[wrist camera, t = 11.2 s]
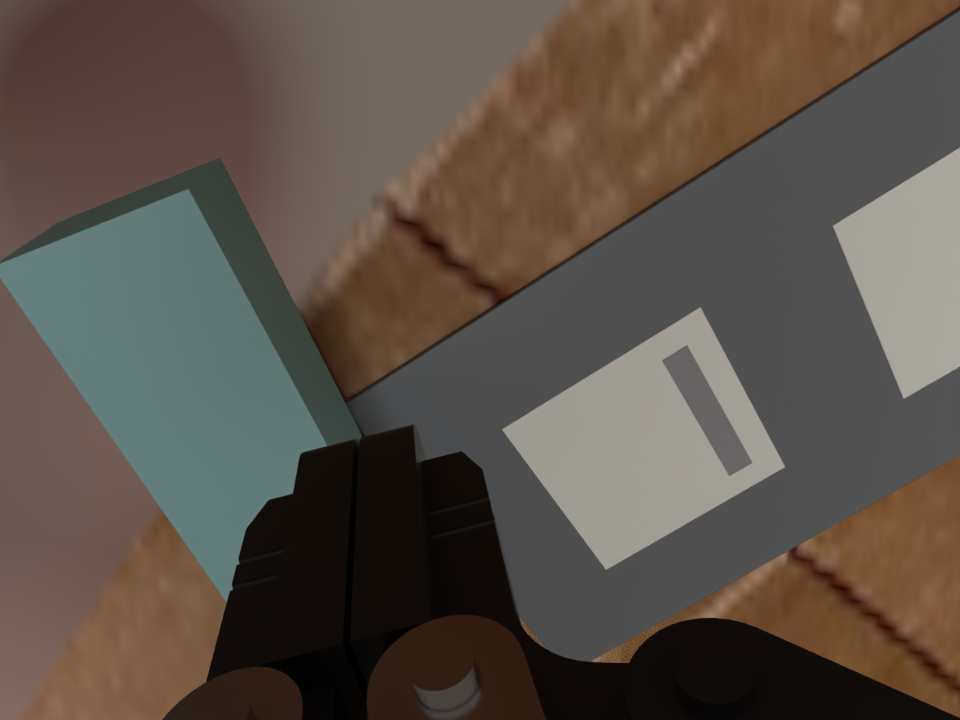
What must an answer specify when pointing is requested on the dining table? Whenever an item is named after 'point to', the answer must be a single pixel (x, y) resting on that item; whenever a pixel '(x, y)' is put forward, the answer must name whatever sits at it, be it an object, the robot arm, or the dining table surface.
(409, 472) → the robot arm
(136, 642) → the dining table surface
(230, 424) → the block
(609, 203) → the dining table surface
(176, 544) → the dining table surface
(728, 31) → the dining table surface
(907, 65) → the label panel
